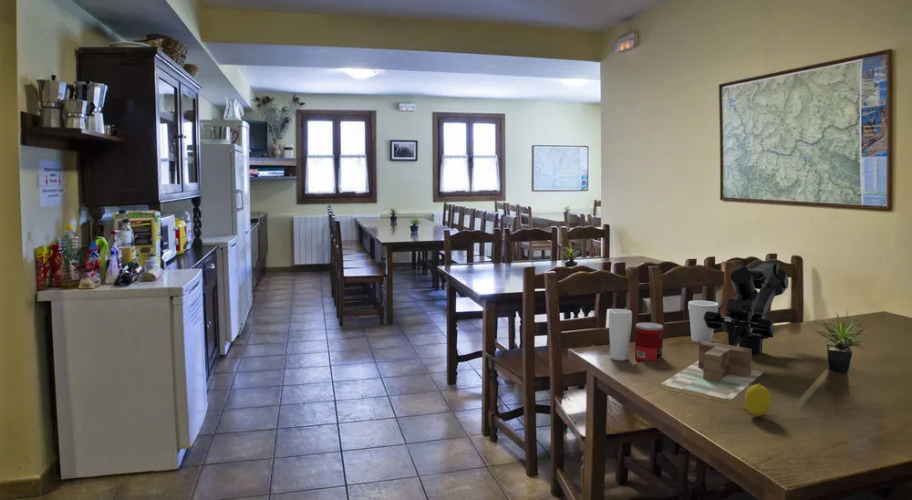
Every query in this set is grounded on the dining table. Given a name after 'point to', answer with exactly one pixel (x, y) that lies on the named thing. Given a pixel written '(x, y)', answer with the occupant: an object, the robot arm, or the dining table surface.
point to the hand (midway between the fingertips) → (730, 347)
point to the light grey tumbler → (619, 333)
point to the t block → (723, 360)
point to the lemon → (758, 400)
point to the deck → (710, 382)
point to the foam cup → (700, 320)
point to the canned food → (648, 341)
